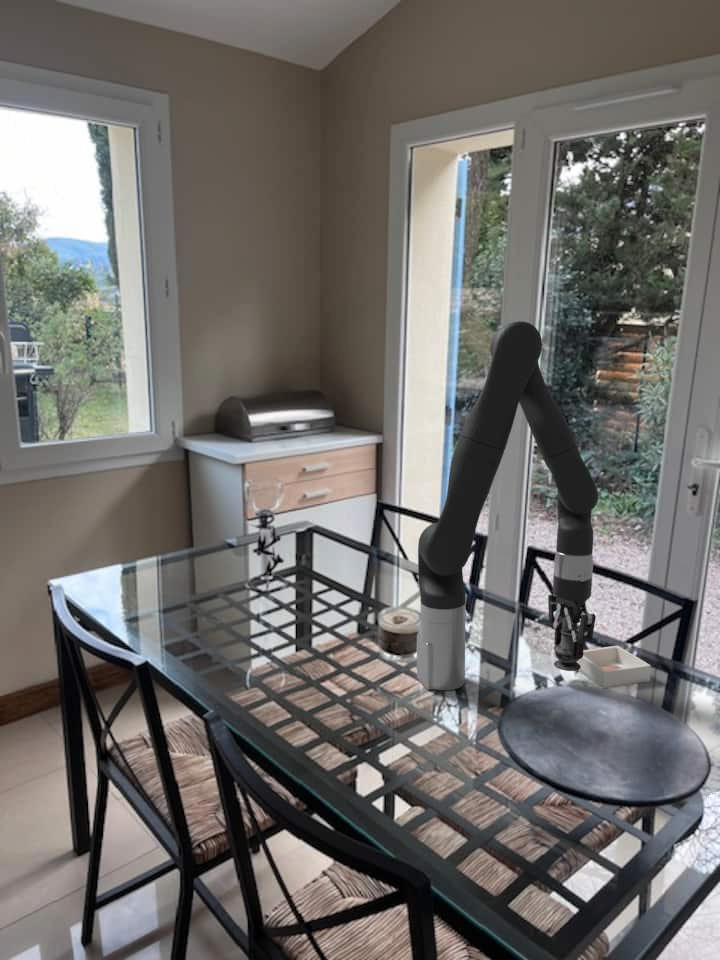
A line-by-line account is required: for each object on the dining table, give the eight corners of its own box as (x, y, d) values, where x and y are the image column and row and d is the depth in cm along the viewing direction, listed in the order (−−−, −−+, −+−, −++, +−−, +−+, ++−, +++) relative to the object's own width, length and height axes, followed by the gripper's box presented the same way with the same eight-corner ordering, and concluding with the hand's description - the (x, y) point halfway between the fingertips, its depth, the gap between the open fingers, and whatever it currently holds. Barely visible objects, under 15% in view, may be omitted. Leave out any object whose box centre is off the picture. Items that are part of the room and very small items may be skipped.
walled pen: (603, 688, 145) (604, 672, 145) (573, 667, 156) (573, 651, 155) (649, 681, 148) (650, 665, 148) (616, 660, 159) (617, 645, 158)
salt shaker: (583, 672, 145) (587, 616, 143) (553, 670, 146) (556, 613, 144) (580, 661, 151) (584, 606, 149) (551, 658, 152) (554, 604, 150)
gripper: (538, 564, 151) (534, 641, 154) (576, 585, 137) (571, 668, 140) (569, 562, 153) (565, 637, 156) (610, 582, 139) (605, 664, 142)
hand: (568, 651), depth 148 cm, fingers closed on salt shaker, 6 cm apart
